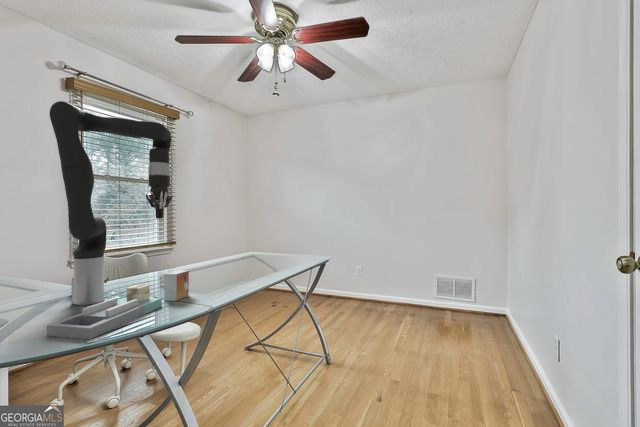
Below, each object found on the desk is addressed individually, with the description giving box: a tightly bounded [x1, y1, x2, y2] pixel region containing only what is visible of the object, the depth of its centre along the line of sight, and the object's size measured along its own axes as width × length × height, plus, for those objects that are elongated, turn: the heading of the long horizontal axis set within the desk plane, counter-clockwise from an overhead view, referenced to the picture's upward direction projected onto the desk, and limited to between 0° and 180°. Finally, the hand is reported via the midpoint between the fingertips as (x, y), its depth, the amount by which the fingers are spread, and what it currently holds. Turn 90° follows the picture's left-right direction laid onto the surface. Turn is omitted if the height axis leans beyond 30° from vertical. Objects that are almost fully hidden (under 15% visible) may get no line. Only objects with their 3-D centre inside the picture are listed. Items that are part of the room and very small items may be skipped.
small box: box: [163, 269, 190, 302], centre depth 122 cm, size 8×6×10 cm
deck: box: [46, 296, 163, 340], centre depth 98 cm, size 14×29×5 cm, turn 171°
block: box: [125, 284, 151, 303], centre depth 109 cm, size 5×5×5 cm
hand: (159, 218), depth 121 cm, fingers closed
